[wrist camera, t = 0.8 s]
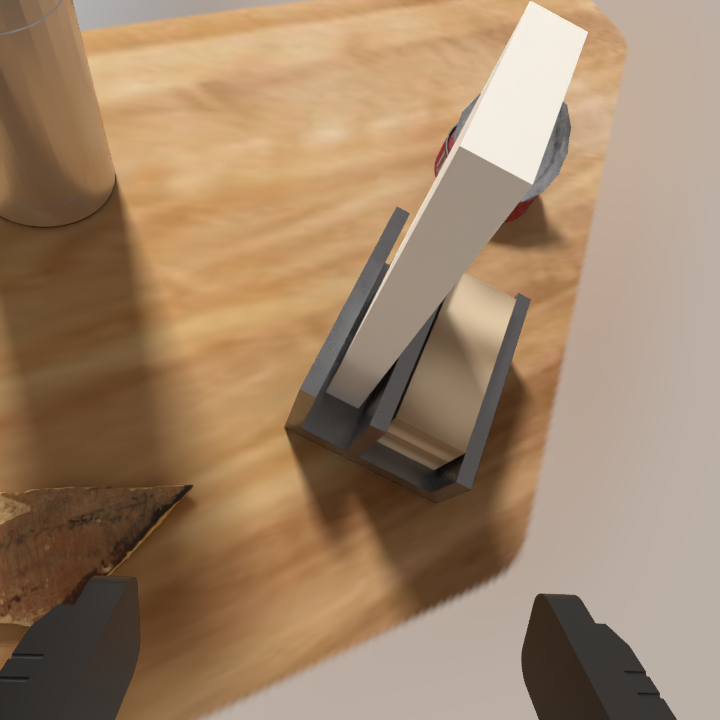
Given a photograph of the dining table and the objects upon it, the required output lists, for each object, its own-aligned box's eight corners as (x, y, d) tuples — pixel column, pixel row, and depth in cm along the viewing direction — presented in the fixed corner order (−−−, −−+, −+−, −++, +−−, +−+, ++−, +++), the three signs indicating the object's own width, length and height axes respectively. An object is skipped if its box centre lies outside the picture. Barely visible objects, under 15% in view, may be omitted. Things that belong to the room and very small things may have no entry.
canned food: (508, 222, 54) (593, 199, 46) (436, 241, 49) (516, 219, 41) (485, 111, 52) (570, 64, 44) (407, 119, 47) (486, 68, 39)
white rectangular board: (358, 408, 35) (532, 184, 16) (325, 392, 35) (459, 146, 16) (404, 308, 39) (587, 32, 20) (374, 293, 39) (530, 0, 20)
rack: (436, 503, 35) (486, 483, 29) (284, 427, 35) (299, 389, 28) (494, 332, 42) (546, 285, 36) (368, 267, 42) (396, 206, 35)
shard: (194, 488, 33) (193, 483, 31) (186, 624, 30) (184, 626, 28) (-3, 492, 30) (-15, 487, 28) (-34, 642, 27) (-50, 645, 25)
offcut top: (448, 462, 33) (465, 452, 30) (383, 429, 32) (395, 417, 30) (498, 316, 38) (516, 299, 36) (443, 287, 38) (457, 268, 36)
